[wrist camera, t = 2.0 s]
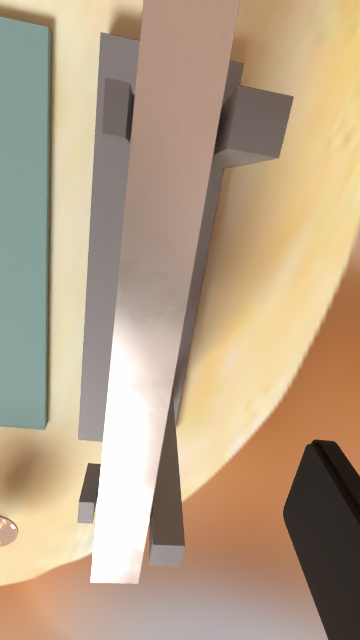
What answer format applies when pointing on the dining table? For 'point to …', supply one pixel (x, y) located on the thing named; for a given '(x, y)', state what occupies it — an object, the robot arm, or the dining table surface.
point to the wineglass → (7, 532)
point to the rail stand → (105, 248)
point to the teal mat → (24, 221)
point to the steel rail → (157, 258)
